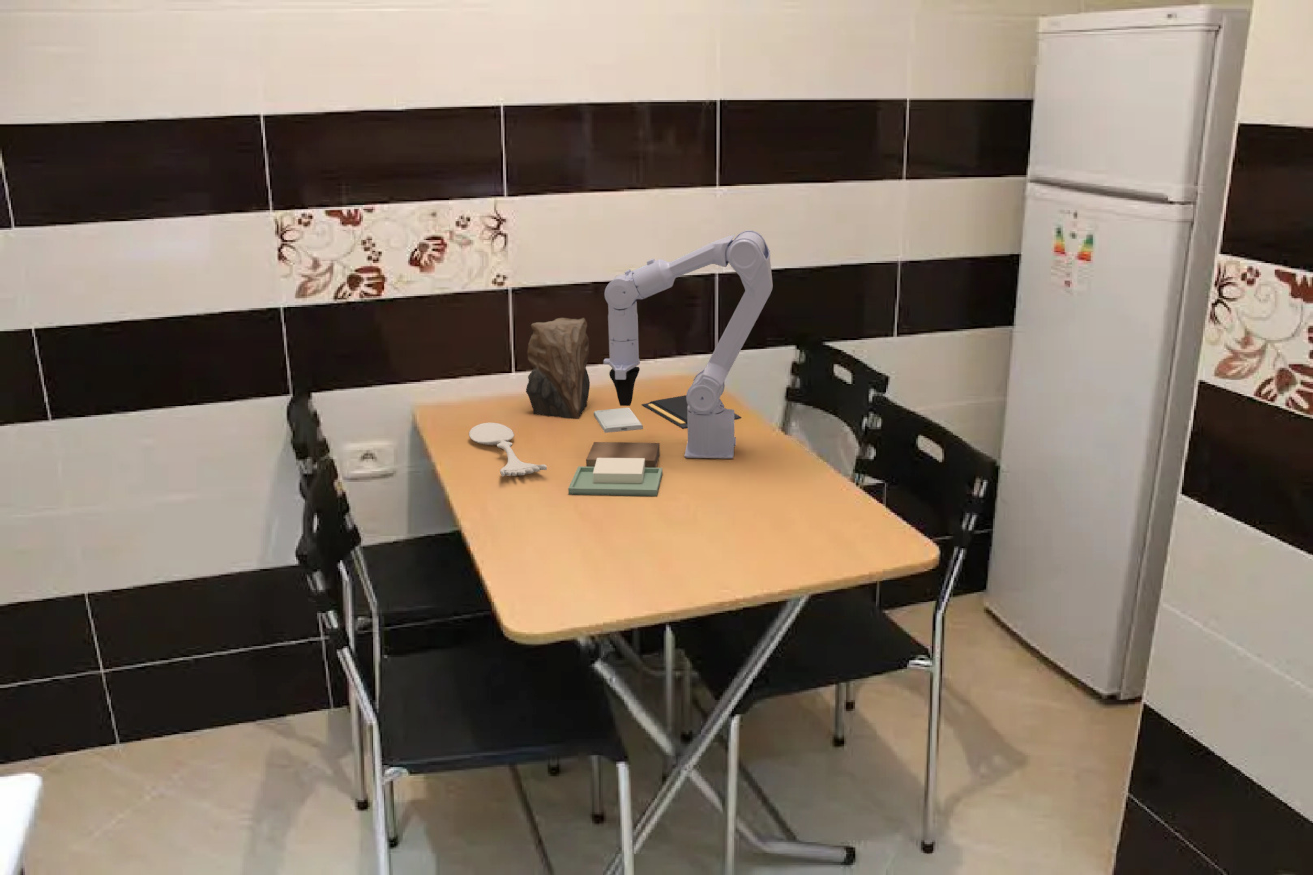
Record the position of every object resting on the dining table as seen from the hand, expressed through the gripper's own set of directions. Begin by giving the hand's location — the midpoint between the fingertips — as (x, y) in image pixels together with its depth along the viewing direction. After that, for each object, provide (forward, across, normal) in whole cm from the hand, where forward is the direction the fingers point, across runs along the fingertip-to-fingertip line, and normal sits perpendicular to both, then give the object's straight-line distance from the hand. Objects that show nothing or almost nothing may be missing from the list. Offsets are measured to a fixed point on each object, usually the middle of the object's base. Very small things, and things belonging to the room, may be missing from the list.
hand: (625, 404), depth 222 cm
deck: (+9, +8, 0) cm, 12 cm away
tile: (+8, +17, 0) cm, 19 cm away
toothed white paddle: (+10, +5, -24) cm, 26 cm away
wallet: (+10, -25, +12) cm, 29 cm away
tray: (+9, +19, 0) cm, 21 cm away
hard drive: (+10, -17, -4) cm, 20 cm away
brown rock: (+9, -24, -17) cm, 31 cm away
